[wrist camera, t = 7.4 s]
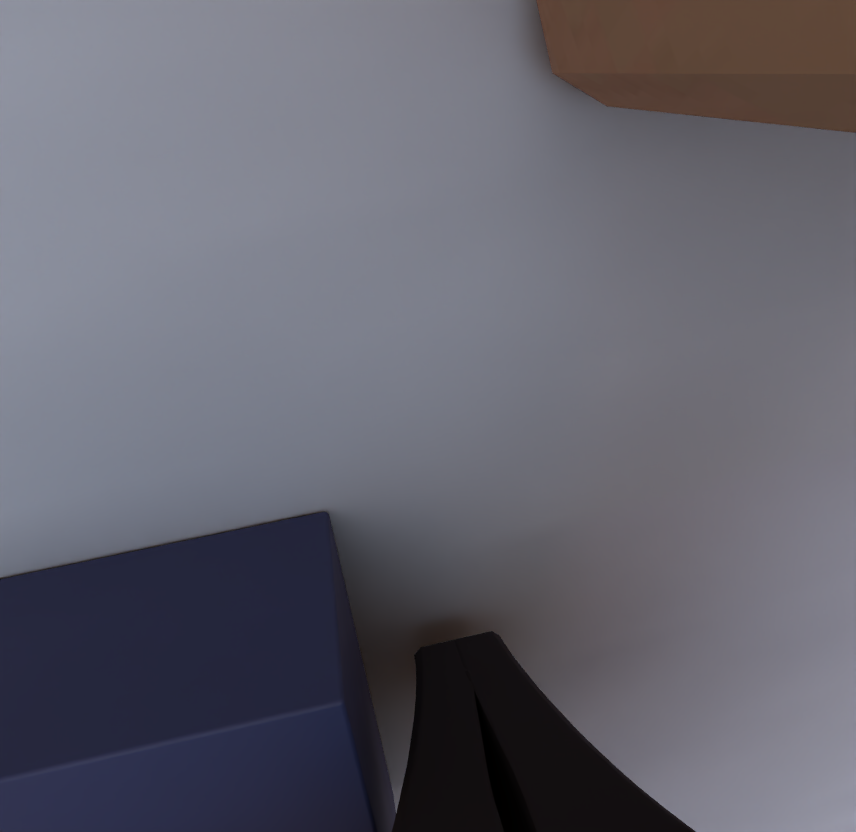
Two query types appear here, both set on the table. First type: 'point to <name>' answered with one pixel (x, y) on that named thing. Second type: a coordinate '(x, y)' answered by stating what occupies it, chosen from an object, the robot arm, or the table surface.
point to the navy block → (190, 691)
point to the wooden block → (711, 57)
